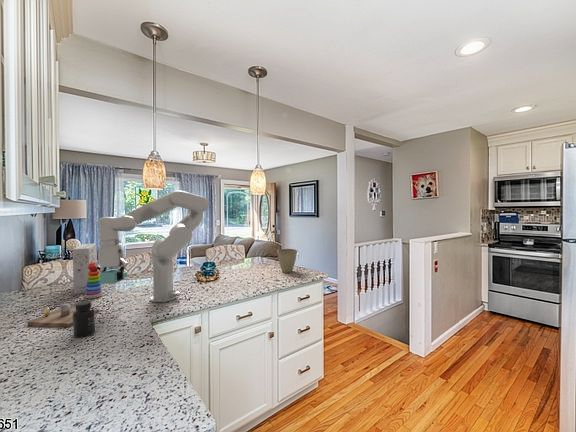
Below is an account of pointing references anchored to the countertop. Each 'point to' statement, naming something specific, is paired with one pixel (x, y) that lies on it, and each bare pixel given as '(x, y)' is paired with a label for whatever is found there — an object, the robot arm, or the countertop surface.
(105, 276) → the teal square scoop
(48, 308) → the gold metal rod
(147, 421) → the countertop surface
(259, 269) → the countertop surface
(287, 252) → the plant pot
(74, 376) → the countertop surface
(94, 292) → the stacking toy
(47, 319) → the post base
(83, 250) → the cereal box
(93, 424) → the countertop surface
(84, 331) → the supplement bottle
